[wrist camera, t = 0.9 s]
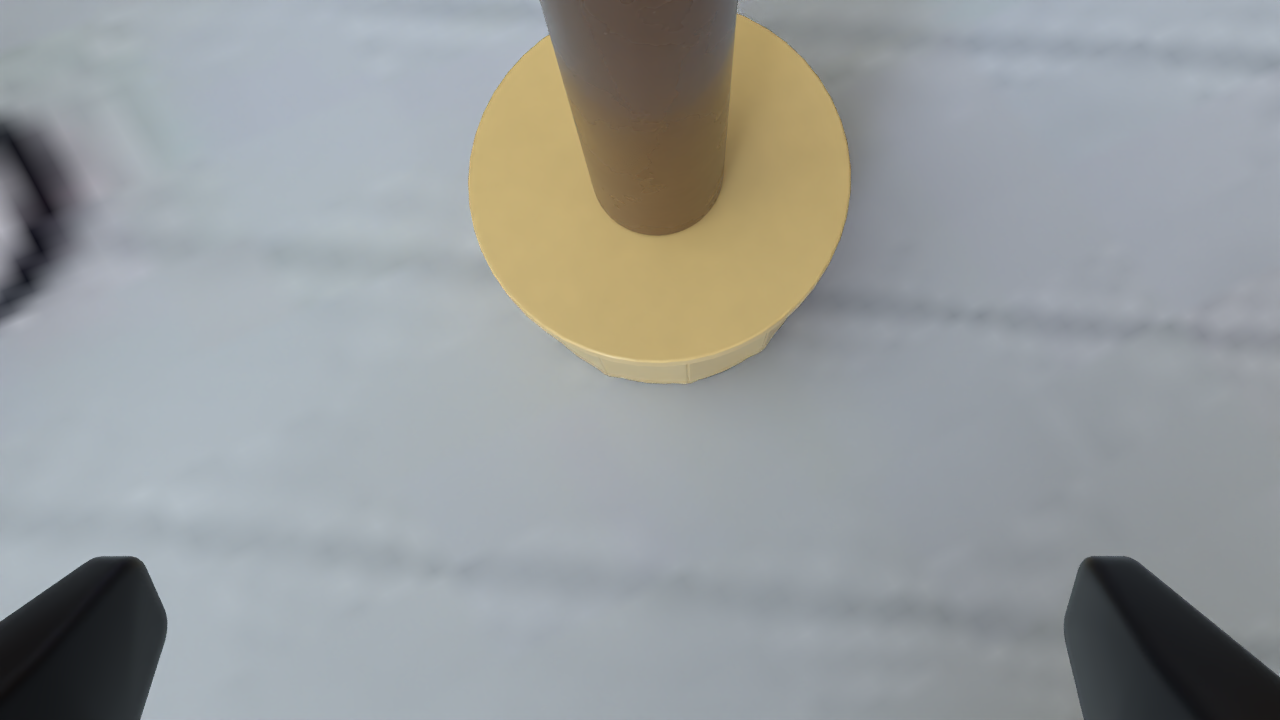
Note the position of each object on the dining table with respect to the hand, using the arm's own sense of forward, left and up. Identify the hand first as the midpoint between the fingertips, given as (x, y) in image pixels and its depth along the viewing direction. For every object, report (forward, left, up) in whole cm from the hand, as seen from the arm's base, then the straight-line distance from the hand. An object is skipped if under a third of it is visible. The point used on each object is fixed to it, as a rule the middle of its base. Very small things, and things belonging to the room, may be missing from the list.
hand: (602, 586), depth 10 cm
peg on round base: (+6, -5, -9) cm, 12 cm away
